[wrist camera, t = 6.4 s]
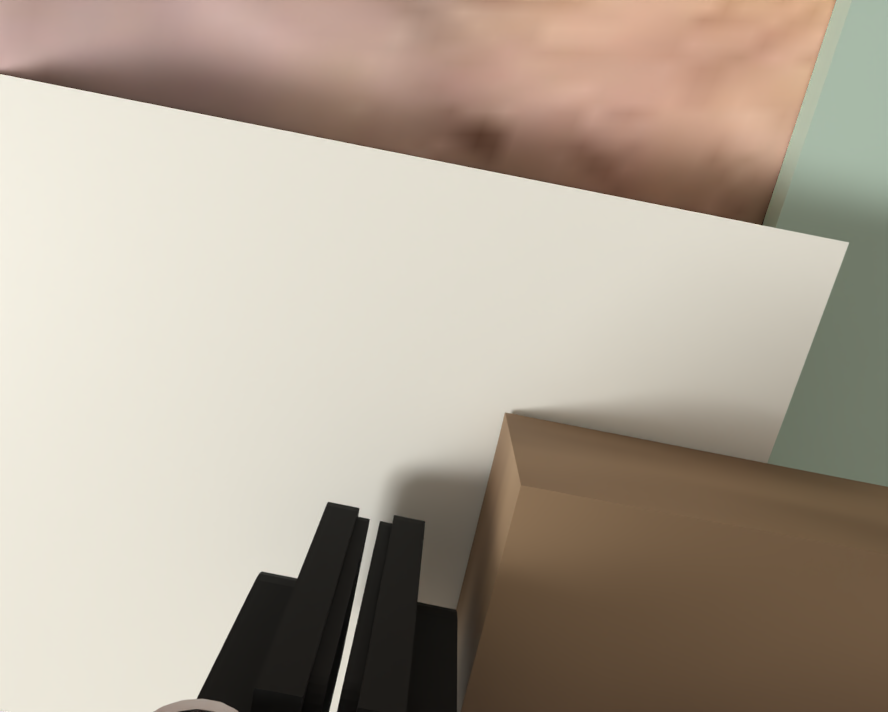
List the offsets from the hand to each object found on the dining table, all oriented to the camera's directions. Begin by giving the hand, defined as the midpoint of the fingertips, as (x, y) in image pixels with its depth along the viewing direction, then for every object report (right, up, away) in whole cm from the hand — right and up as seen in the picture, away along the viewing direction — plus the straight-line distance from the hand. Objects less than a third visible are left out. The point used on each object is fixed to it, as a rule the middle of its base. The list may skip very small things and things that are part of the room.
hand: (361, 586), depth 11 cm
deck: (-1, +3, +4) cm, 5 cm away
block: (+5, -1, +1) cm, 5 cm away
